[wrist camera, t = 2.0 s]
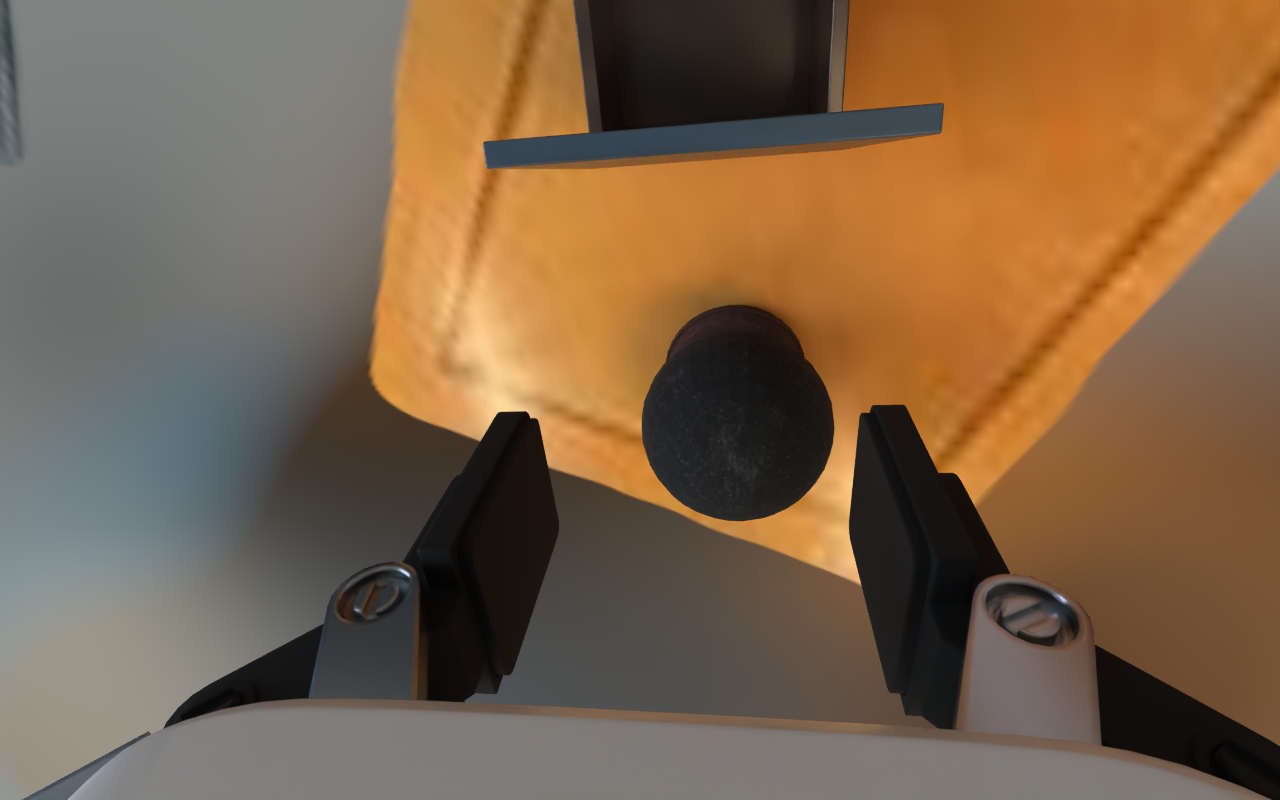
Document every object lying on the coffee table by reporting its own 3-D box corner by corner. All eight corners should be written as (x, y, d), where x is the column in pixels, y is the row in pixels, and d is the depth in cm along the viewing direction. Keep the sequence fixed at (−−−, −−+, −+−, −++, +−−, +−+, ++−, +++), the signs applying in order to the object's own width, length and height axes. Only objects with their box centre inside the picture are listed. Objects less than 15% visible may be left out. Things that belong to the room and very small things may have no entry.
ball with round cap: (699, 263, 46) (690, 351, 34) (851, 338, 48) (897, 449, 35) (628, 397, 53) (597, 513, 40) (763, 459, 55) (775, 590, 42)
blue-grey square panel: (482, 141, 19) (485, 169, 20) (944, 102, 17) (942, 133, 18) (590, 153, 35) (591, 168, 35) (842, 133, 33) (842, 149, 33)
